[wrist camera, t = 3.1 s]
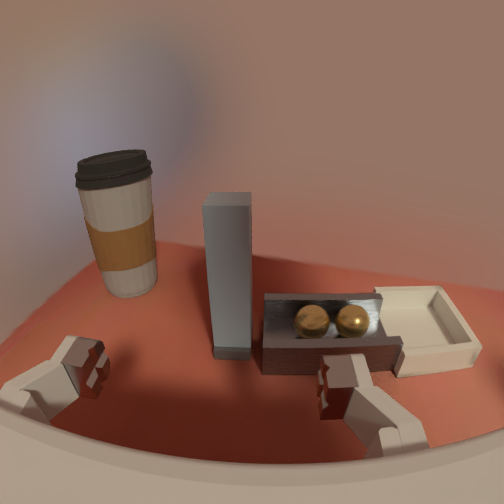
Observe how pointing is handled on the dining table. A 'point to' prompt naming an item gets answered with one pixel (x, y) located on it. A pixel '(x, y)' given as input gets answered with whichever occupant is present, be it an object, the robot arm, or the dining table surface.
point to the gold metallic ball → (352, 321)
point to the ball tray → (427, 330)
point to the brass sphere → (311, 322)
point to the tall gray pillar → (229, 272)
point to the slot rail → (332, 343)
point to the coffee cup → (120, 219)
